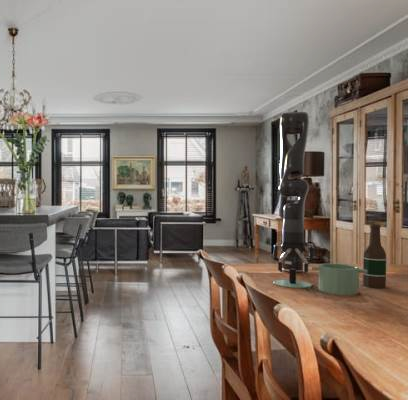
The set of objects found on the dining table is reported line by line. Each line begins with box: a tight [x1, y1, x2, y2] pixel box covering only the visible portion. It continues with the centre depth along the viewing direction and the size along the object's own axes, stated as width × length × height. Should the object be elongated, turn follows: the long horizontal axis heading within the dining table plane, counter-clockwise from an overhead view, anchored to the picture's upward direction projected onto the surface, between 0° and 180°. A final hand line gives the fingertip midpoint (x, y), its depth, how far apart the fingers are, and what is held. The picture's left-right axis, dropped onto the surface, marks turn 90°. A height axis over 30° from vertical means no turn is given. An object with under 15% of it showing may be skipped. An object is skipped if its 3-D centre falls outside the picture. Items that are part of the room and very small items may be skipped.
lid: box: [273, 269, 313, 289], centre depth 169 cm, size 14×14×7 cm
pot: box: [310, 263, 367, 296], centre depth 159 cm, size 13×18×10 cm
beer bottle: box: [362, 223, 387, 289], centre depth 170 cm, size 8×8×24 cm
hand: (292, 272), depth 169 cm, fingers open, 8 cm apart
